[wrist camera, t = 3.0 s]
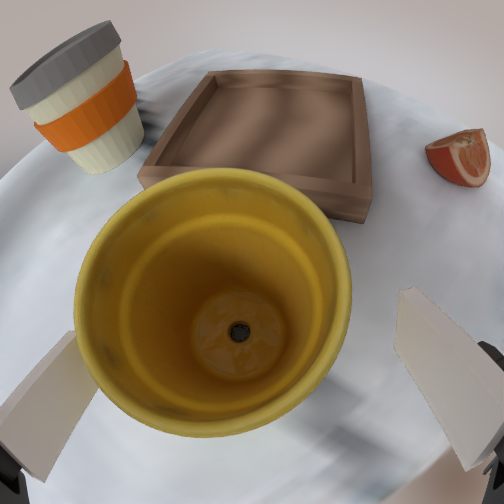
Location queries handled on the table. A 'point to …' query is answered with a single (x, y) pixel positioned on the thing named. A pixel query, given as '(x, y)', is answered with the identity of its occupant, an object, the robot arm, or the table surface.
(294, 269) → the plant pot
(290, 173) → the walnut tray
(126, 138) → the reusable coffee cup
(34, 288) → the table surface
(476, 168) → the fruit slice
